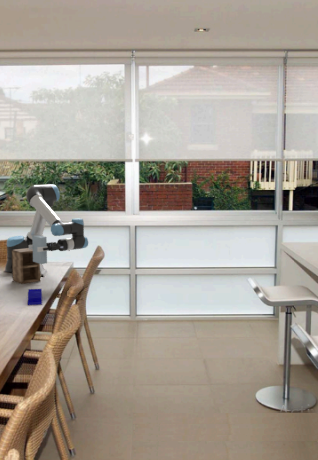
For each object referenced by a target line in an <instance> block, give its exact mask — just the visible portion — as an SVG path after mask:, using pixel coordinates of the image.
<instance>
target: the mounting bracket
mask: <svg viewBox="0 0 318 460" xmlns="http://www.w3.org/2000/svg"><path fill="white" fill-rule="evenodd" d="M27 290H28V292H27V306H37V305H38V306H39V305H42V304H43V302H42V301H43V291H42V288H31V289H27Z"/></svg>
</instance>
